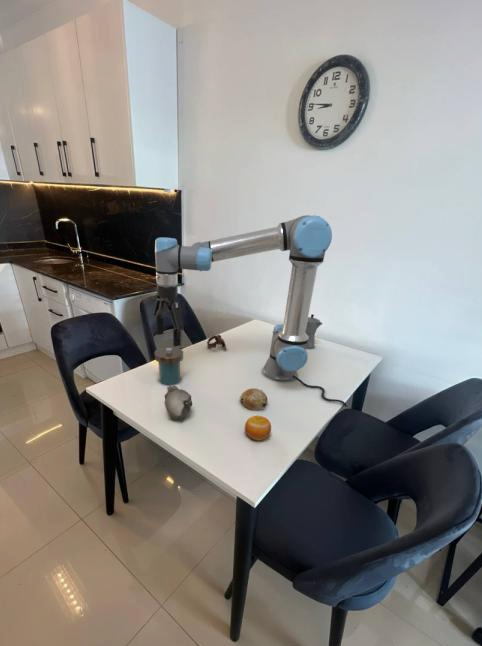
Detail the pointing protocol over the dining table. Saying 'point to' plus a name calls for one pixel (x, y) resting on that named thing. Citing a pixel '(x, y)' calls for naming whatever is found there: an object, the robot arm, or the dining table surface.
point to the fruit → (258, 427)
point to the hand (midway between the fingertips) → (168, 339)
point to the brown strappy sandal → (218, 342)
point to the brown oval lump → (254, 399)
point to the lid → (168, 355)
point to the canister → (169, 373)
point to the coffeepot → (311, 330)
